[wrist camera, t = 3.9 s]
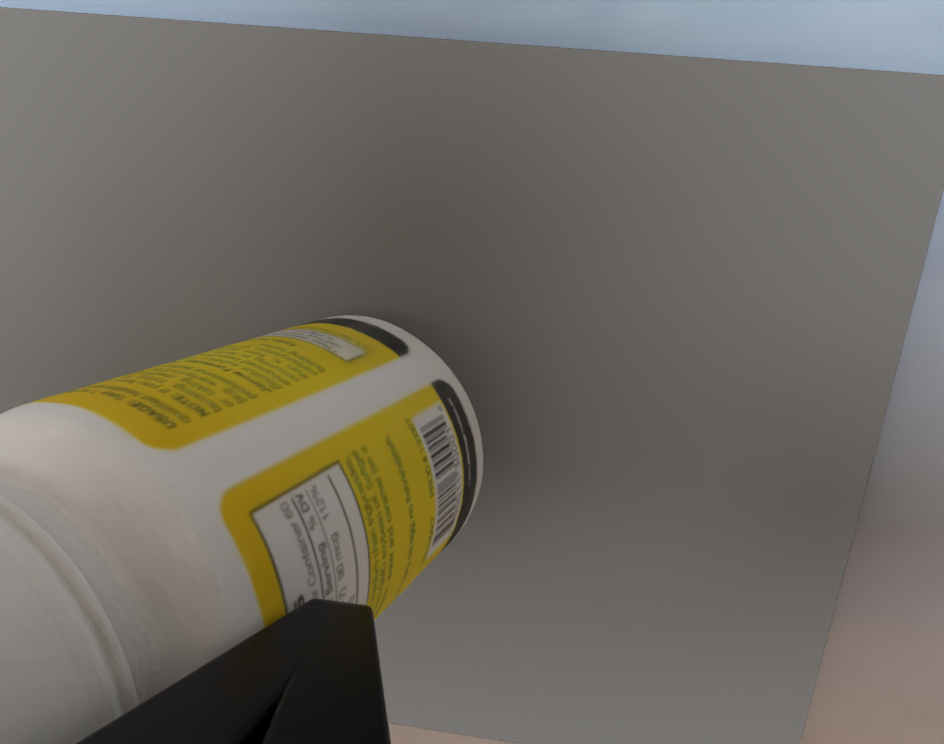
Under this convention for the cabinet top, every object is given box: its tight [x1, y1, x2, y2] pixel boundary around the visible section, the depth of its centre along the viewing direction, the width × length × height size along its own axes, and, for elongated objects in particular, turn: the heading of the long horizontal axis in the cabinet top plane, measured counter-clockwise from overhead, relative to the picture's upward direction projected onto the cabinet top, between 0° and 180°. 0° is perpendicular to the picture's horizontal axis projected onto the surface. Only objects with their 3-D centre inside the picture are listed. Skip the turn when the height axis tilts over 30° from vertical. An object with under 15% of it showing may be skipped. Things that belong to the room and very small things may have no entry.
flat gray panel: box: [0, 7, 944, 744], centre depth 14 cm, size 20×14×1 cm
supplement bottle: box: [0, 315, 483, 744], centre depth 10 cm, size 5×5×8 cm
